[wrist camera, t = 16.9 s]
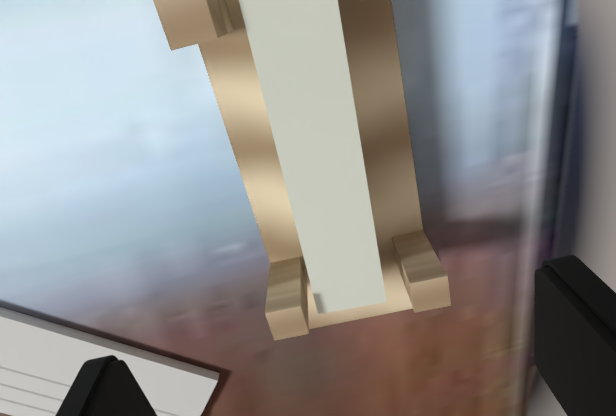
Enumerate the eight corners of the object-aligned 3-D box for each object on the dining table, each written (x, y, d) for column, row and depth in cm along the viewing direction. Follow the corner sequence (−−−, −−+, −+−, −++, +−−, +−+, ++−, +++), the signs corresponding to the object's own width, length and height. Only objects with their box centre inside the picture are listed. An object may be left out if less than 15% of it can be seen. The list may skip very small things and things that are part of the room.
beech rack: (156, -95, 21) (108, -126, 15) (365, -157, 20) (390, -211, 14) (292, 324, 32) (292, 389, 27) (430, 297, 31) (457, 358, 26)
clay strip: (230, -77, 20) (215, -92, 17) (315, -98, 20) (318, -118, 16) (315, 274, 29) (318, 314, 25) (375, 263, 29) (386, 301, 25)
